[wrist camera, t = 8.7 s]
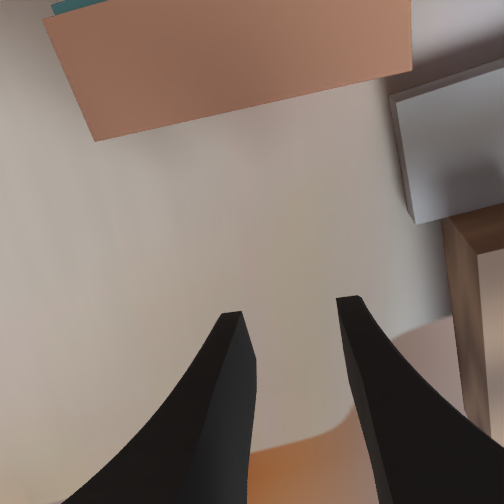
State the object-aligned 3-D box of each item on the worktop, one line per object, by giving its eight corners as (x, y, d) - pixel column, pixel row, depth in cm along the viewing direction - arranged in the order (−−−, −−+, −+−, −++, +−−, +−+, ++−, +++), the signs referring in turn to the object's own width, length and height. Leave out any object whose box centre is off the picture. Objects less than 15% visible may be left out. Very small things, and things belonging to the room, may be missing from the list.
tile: (349, -57, 13) (408, -101, 7) (356, 38, 14) (412, 70, 8) (141, 2, 14) (36, 8, 8) (166, 85, 15) (94, 141, 9)
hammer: (534, 398, 23) (577, 467, 20) (442, 413, 24) (468, 480, 21) (537, 46, 14) (620, 62, 10) (388, 95, 15) (419, 124, 12)
